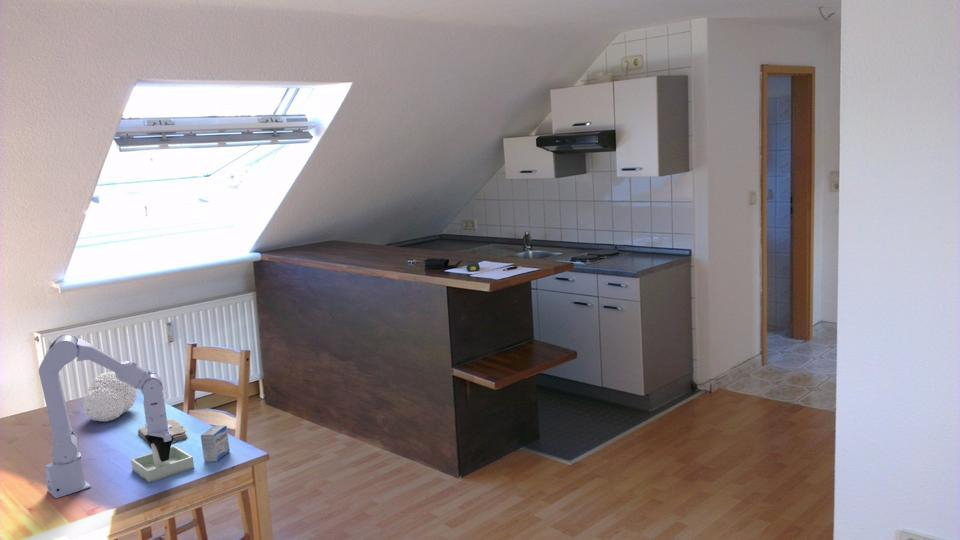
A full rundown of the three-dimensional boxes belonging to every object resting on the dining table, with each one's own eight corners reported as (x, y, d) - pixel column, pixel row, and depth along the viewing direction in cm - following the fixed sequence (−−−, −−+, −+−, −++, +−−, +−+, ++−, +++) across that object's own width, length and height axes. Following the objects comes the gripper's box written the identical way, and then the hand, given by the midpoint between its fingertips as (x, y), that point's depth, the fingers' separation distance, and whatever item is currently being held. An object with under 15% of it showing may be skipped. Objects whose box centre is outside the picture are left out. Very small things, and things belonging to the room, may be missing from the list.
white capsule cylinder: (158, 469, 233) (154, 447, 232) (152, 466, 236) (148, 443, 234) (172, 464, 236) (168, 442, 235) (165, 460, 239) (162, 439, 237)
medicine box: (217, 462, 239) (213, 435, 237) (203, 461, 240) (200, 434, 238) (230, 451, 247) (227, 425, 245) (217, 451, 248) (213, 424, 246)
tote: (149, 483, 227) (147, 471, 226) (132, 470, 237) (130, 459, 236) (194, 467, 236) (192, 456, 235) (176, 456, 245) (174, 445, 245)
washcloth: (153, 449, 253) (151, 440, 253) (136, 435, 267) (135, 426, 266) (190, 439, 260) (189, 430, 260) (172, 425, 274) (171, 416, 274)
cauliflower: (94, 385, 295) (102, 356, 286) (141, 401, 299) (150, 373, 290) (70, 425, 279) (77, 396, 270) (119, 442, 283) (129, 413, 274)
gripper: (179, 416, 231) (185, 460, 233) (159, 405, 241) (165, 448, 243) (154, 423, 226) (161, 468, 228) (136, 412, 236) (142, 455, 239)
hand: (161, 458), depth 236 cm, fingers closed on white capsule cylinder, 4 cm apart
